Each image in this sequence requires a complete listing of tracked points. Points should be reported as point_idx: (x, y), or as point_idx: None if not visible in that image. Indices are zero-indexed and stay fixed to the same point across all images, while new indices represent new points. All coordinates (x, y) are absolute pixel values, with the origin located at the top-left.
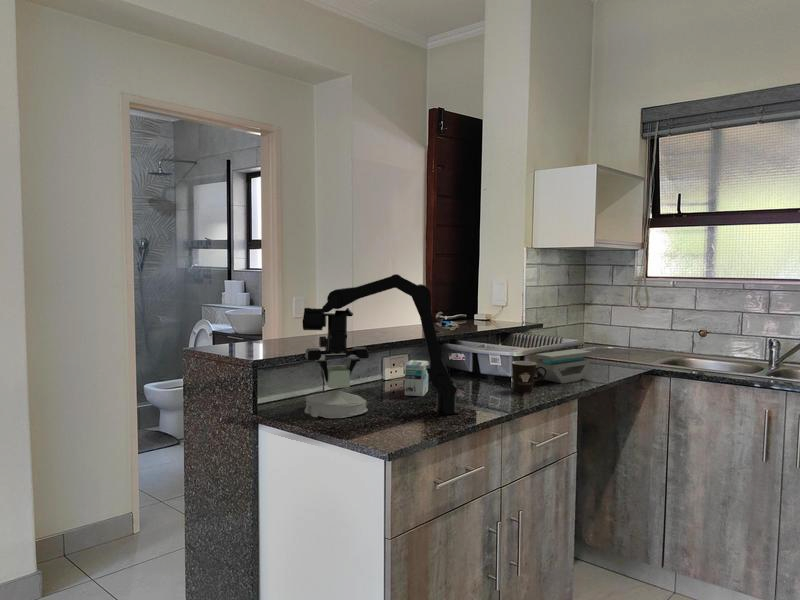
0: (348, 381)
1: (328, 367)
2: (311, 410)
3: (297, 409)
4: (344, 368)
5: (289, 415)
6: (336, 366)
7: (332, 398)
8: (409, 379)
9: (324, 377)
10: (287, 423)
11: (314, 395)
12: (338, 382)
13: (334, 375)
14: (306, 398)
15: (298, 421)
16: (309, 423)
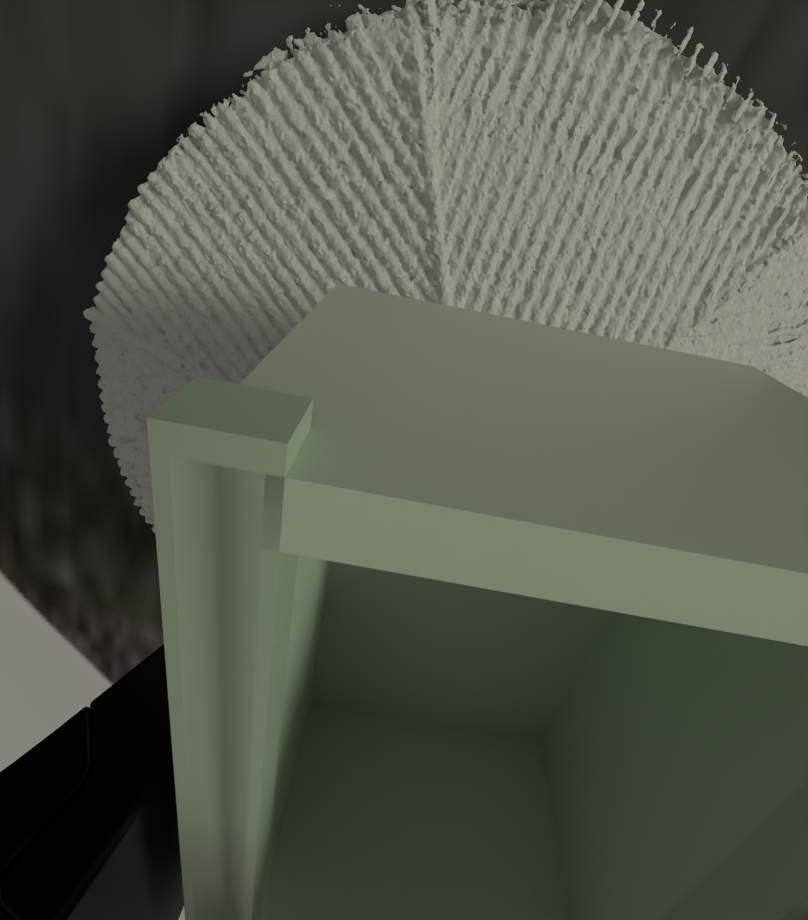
0: (549, 821)
1: (380, 530)
2: None
3: (84, 197)
4: (744, 917)
5: (11, 395)
6: (780, 630)
7: None
8: None
9: None
10: (12, 577)
11: (201, 312)
12: (399, 788)
13: (315, 917)
14: (99, 332)
15: (87, 565)
16: (157, 625)
